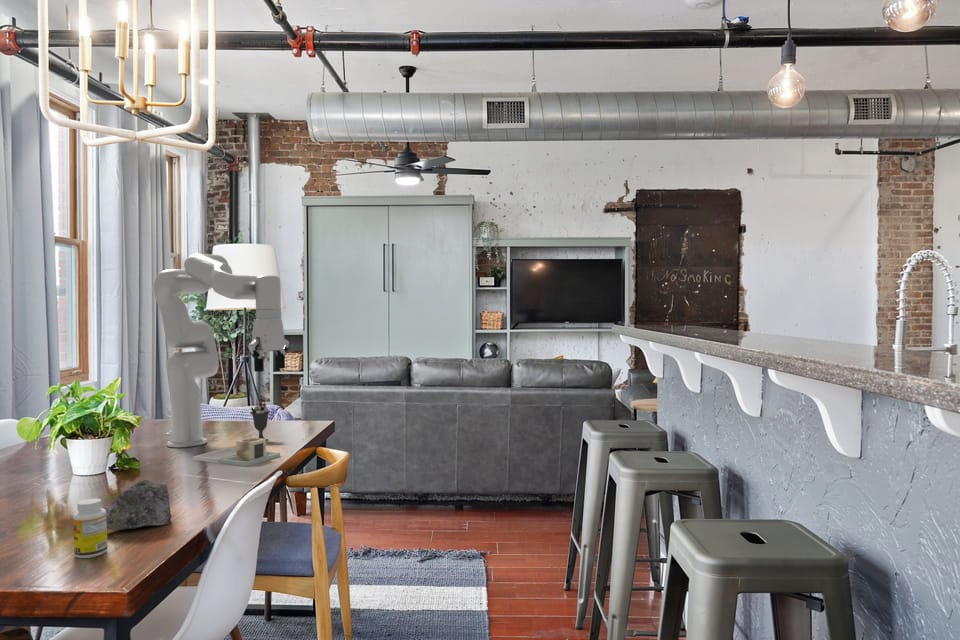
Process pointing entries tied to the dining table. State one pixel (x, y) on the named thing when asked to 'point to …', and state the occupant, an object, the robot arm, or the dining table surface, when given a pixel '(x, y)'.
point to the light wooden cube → (250, 449)
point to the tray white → (216, 455)
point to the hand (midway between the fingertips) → (269, 369)
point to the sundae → (260, 417)
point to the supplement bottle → (90, 529)
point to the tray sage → (242, 463)
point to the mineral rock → (140, 506)
